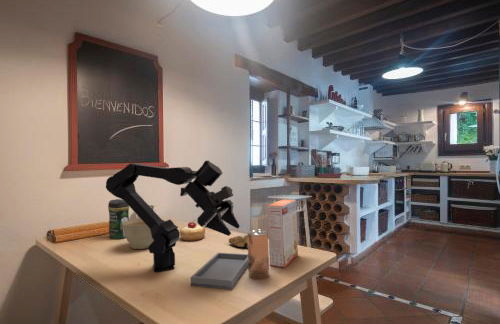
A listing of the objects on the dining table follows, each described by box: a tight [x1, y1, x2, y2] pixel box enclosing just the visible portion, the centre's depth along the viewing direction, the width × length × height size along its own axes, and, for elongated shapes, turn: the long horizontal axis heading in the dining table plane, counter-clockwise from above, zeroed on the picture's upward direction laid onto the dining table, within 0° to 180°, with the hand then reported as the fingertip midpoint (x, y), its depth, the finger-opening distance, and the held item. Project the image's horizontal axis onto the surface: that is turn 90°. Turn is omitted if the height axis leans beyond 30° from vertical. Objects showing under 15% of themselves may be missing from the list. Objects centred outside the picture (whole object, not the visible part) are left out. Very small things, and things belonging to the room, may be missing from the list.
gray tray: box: [190, 252, 248, 291], centre depth 90 cm, size 13×22×2 cm, turn 166°
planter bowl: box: [122, 218, 154, 250], centre depth 121 cm, size 16×16×11 cm
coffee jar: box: [107, 198, 130, 240], centre depth 137 cm, size 10×8×19 cm
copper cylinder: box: [247, 228, 270, 281], centre depth 87 cm, size 6×6×14 cm
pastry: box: [179, 219, 206, 242], centre depth 132 cm, size 12×12×9 cm
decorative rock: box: [228, 234, 248, 249], centre depth 119 cm, size 11×4×15 cm
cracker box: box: [267, 198, 299, 268], centre depth 100 cm, size 14×6×21 cm, turn 152°
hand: (234, 230), depth 89 cm, fingers open, 9 cm apart
